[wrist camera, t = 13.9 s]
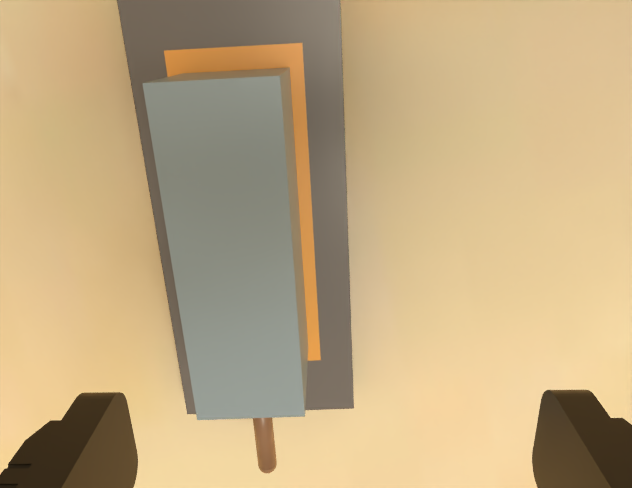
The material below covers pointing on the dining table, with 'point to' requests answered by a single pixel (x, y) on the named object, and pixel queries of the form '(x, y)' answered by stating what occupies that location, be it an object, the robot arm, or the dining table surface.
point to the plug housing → (235, 241)
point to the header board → (309, 134)
